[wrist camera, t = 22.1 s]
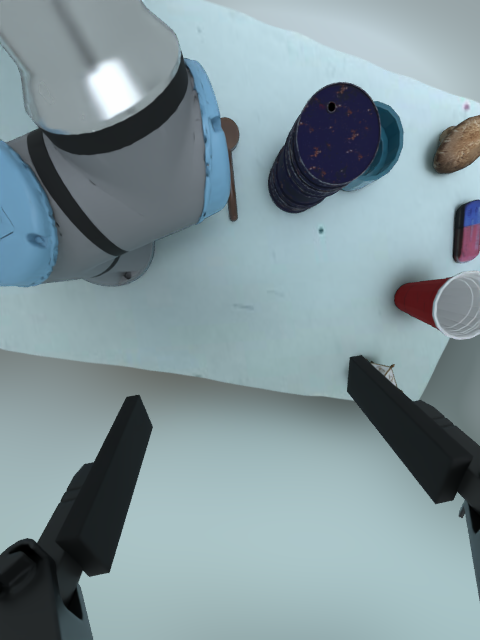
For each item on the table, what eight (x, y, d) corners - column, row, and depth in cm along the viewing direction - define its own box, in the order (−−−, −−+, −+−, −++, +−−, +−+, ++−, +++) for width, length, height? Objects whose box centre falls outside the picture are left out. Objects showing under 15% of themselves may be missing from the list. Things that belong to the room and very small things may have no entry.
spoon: (246, 220, 40) (247, 219, 38) (221, 223, 40) (221, 221, 38) (237, 120, 36) (237, 114, 35) (209, 122, 36) (209, 116, 34)
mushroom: (454, 100, 35) (494, 106, 31) (473, 123, 39) (511, 131, 35) (411, 158, 40) (441, 169, 36) (432, 174, 44) (461, 185, 40)
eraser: (470, 260, 45) (480, 260, 44) (451, 264, 45) (461, 265, 43) (476, 200, 42) (487, 197, 40) (456, 204, 42) (466, 202, 40)
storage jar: (329, 200, 40) (390, 165, 26) (279, 223, 40) (312, 200, 26) (312, 140, 38) (369, 63, 23) (258, 164, 38) (282, 103, 23)
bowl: (314, 182, 39) (328, 169, 34) (333, 115, 37) (352, 90, 32) (365, 198, 41) (387, 189, 35) (387, 135, 38) (414, 115, 33)
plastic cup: (430, 262, 45) (504, 261, 33) (433, 312, 47) (502, 328, 36) (378, 277, 44) (434, 282, 33) (384, 327, 47) (438, 348, 36)
